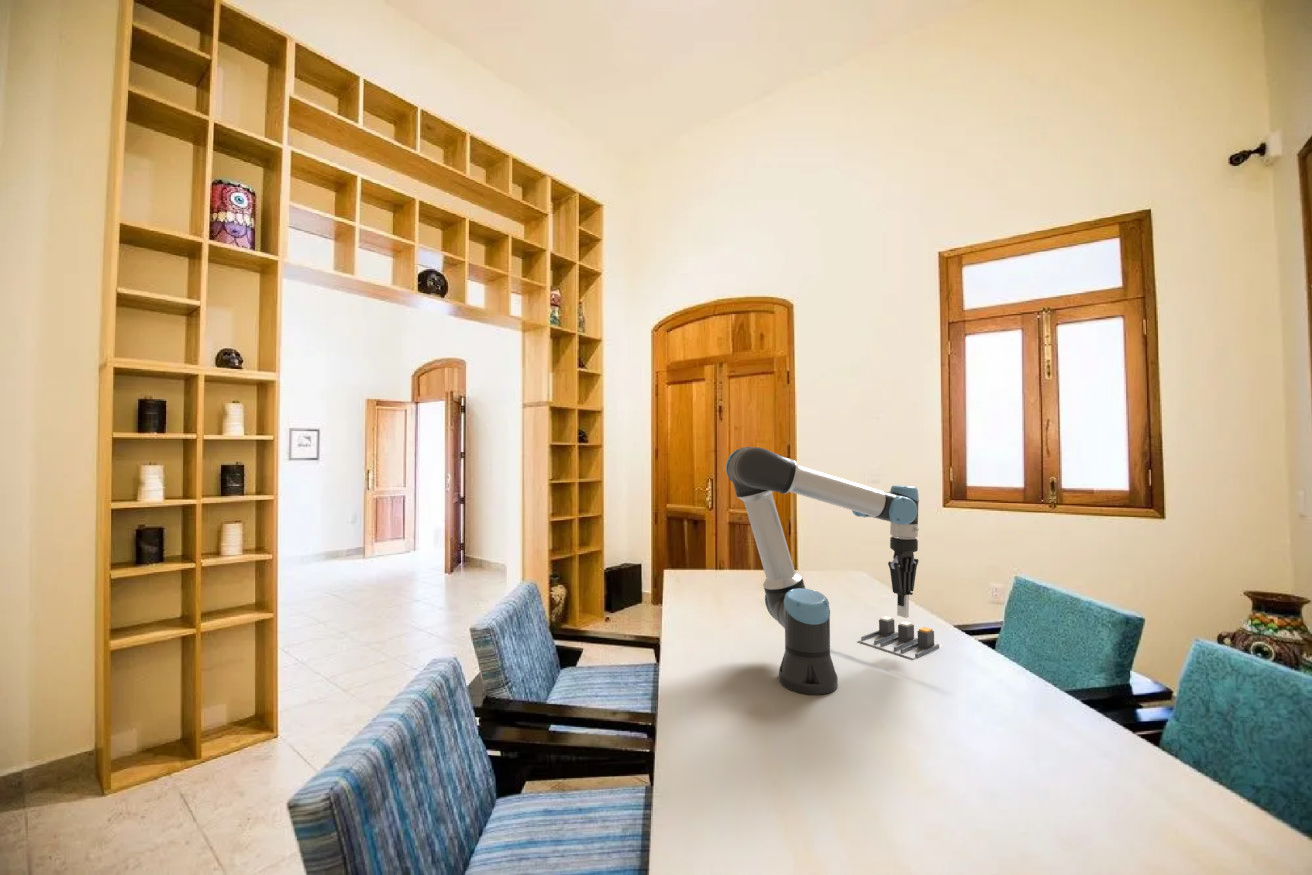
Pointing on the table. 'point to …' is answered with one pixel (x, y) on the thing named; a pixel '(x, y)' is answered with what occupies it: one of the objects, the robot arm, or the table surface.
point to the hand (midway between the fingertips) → (902, 616)
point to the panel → (904, 647)
